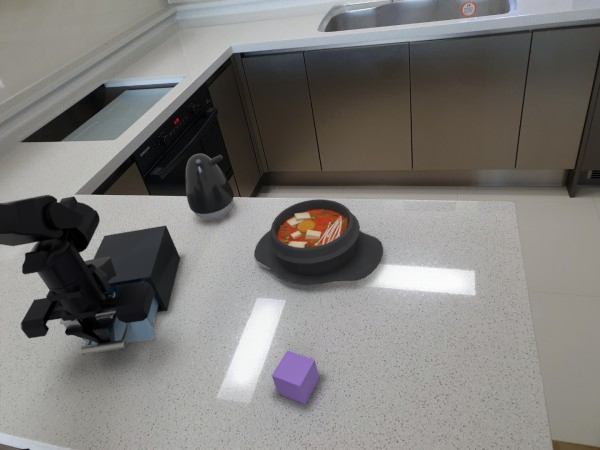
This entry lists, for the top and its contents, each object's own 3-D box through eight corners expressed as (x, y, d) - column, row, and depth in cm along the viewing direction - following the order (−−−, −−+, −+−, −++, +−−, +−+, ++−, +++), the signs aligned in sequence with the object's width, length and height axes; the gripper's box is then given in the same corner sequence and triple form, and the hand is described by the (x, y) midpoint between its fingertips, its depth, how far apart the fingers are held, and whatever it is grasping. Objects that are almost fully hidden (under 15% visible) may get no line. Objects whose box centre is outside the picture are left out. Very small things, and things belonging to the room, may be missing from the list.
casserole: (396, 236, 89) (394, 201, 84) (364, 306, 76) (359, 269, 71) (282, 219, 99) (274, 187, 94) (238, 278, 87) (226, 244, 82)
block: (305, 404, 64) (299, 386, 61) (277, 393, 66) (271, 375, 63) (319, 378, 67) (315, 359, 64) (292, 368, 69) (287, 350, 66)
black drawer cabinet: (167, 310, 83) (150, 276, 78) (100, 321, 84) (79, 288, 79) (180, 257, 95) (166, 225, 90) (121, 267, 96) (104, 235, 90)
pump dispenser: (236, 223, 101) (217, 163, 92) (190, 229, 102) (167, 171, 93) (241, 197, 109) (224, 140, 100) (199, 203, 110) (178, 147, 101)
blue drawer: (148, 362, 73) (131, 334, 69) (80, 372, 74) (59, 345, 70) (169, 282, 88) (156, 256, 84) (111, 291, 89) (96, 265, 84)
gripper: (143, 229, 71) (176, 299, 80) (28, 248, 72) (74, 315, 81) (124, 279, 62) (164, 351, 71) (-7, 300, 63) (49, 368, 72)
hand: (112, 344), depth 74 cm, fingers closed, pressing on blue drawer
